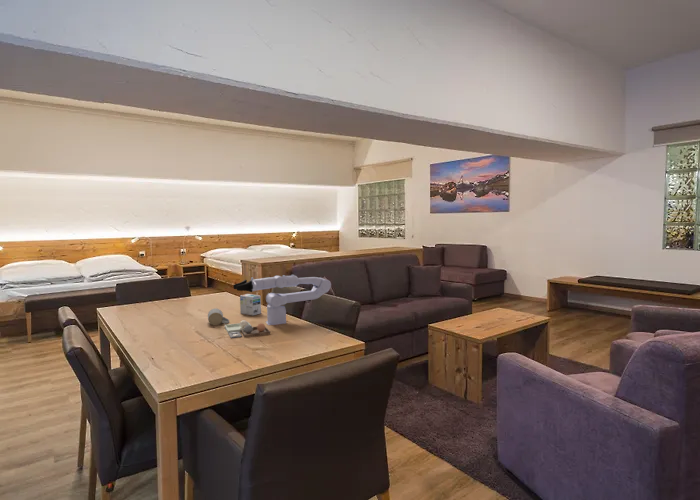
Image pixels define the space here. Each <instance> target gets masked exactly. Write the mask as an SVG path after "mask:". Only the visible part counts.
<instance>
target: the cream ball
mask: <svg viewBox="0 0 700 500" xmlns="http://www.w3.org/2000/svg"><path fill="white" fill-rule="evenodd" d="M239 323H240V327H241V328H245V326H246V325H248V321H247V320H245V319H243V320H240V322H239Z"/></svg>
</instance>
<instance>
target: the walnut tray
mask: <svg viewBox="0 0 700 500" xmlns="http://www.w3.org/2000/svg"><path fill="white" fill-rule="evenodd" d="M257 326H258V325H257ZM257 326H252V327H253V331H252V332H251V333H246V332H245V331H243V330H242V329H244V328H240V329H241V332H240V334H241V335H242V337H244V338H251V337H258V336H259V337H260V336H266V335H271V331H270V329H268V327H267V326H265V330H264V331H263V332H259V331H258V330H257Z"/></svg>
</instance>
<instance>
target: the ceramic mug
mask: <svg viewBox="0 0 700 500" xmlns="http://www.w3.org/2000/svg"><path fill="white" fill-rule="evenodd" d="M207 319H208V323H209V324H210V325H211V326H219V325H221V324H224V325H227V324H229V323H230V319H228V318H226V317H225V316H224V313H223V312H222V310H221V309H220V308H217V307H216V308H211V309H210V310H209V311H208V313H207Z"/></svg>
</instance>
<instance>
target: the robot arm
mask: <svg viewBox="0 0 700 500" xmlns="http://www.w3.org/2000/svg"><path fill="white" fill-rule="evenodd" d="M232 285H233V290H236V291H240V292H250V293H253V292H255V291H261V290H269V289H273V288H280V289H283V288H285V287H286V288H287V287H288V288H289V287H293V288H294V287H297V286H299V285H313V286H312V288H311V290H305V291H297V292H290V293H288V292H287V293H275V292H270V293H269V292H268V293H267V294H266V296H265V301H266V303H267V306H266V311H267V312H266V314H267V315H266V317H267V320H266V321H265V324H267V326H275V325H284V324H287V311H286V310H287V309H286V306H285V305H286V304H289V303H296V302H304V301H305V302H306V301H312V300H317V299H319V298H320V297H321V296H323V295H324V294H327V293H328V292H329V291H330V289H331V288H332V282H331V281H330V280H329V279H325V278H323V277H317V276H308V277H298V276H297V275H295V274H291V275H285V274H283V275H282V276H281V275H274V276H270V277H261V278H256V279H255V278H254V277H251V278H250V280H249V281H247V279H244V280H243V281H240V282H237V283H234V284H232Z"/></svg>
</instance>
